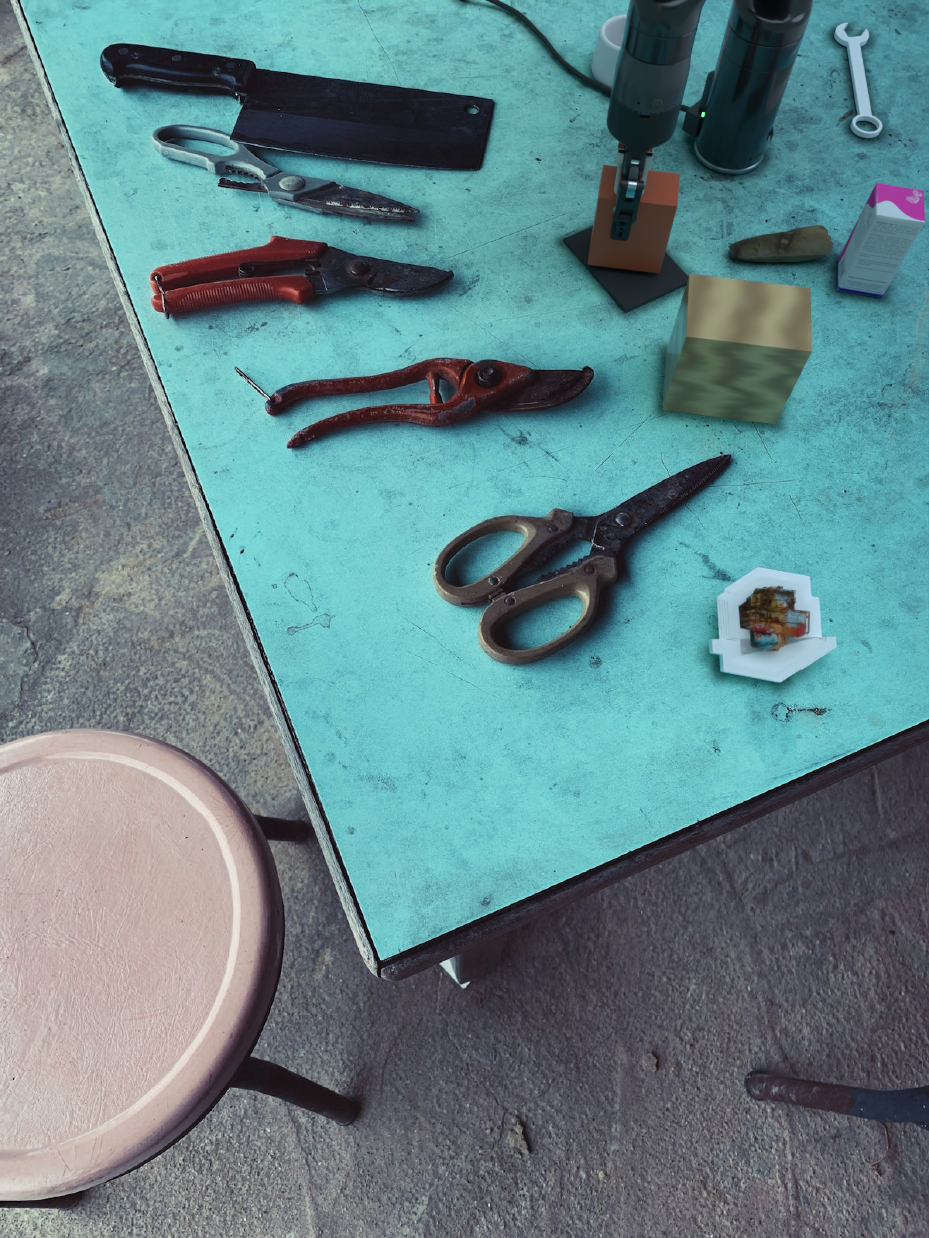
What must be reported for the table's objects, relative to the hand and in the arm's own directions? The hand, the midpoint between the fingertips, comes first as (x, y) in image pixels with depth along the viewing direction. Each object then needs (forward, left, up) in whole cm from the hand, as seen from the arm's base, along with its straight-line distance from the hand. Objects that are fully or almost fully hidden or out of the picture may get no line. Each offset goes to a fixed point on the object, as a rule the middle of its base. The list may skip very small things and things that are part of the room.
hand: (621, 219), depth 112 cm
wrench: (-12, +51, -6) cm, 53 cm away
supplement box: (+18, +25, -6) cm, 32 cm away
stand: (+23, -1, -6) cm, 24 cm away
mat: (+1, +1, -6) cm, 6 cm away
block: (+4, +5, 0) cm, 6 cm away
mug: (-29, +23, -6) cm, 38 cm away
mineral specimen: (+51, -17, -6) cm, 54 cm away
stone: (+9, +19, -6) cm, 22 cm away
